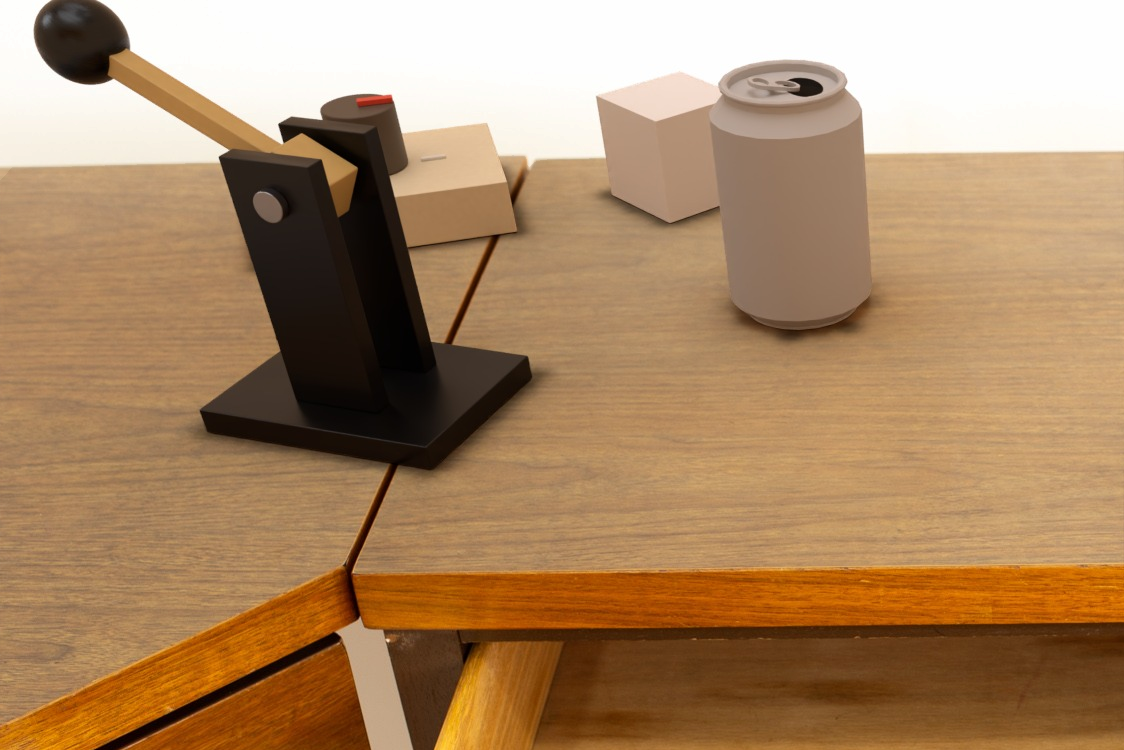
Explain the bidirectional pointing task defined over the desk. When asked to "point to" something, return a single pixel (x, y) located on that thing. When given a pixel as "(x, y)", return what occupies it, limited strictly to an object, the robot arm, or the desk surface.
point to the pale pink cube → (661, 145)
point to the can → (792, 193)
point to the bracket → (347, 316)
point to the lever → (161, 85)
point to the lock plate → (452, 186)
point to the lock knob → (372, 122)
